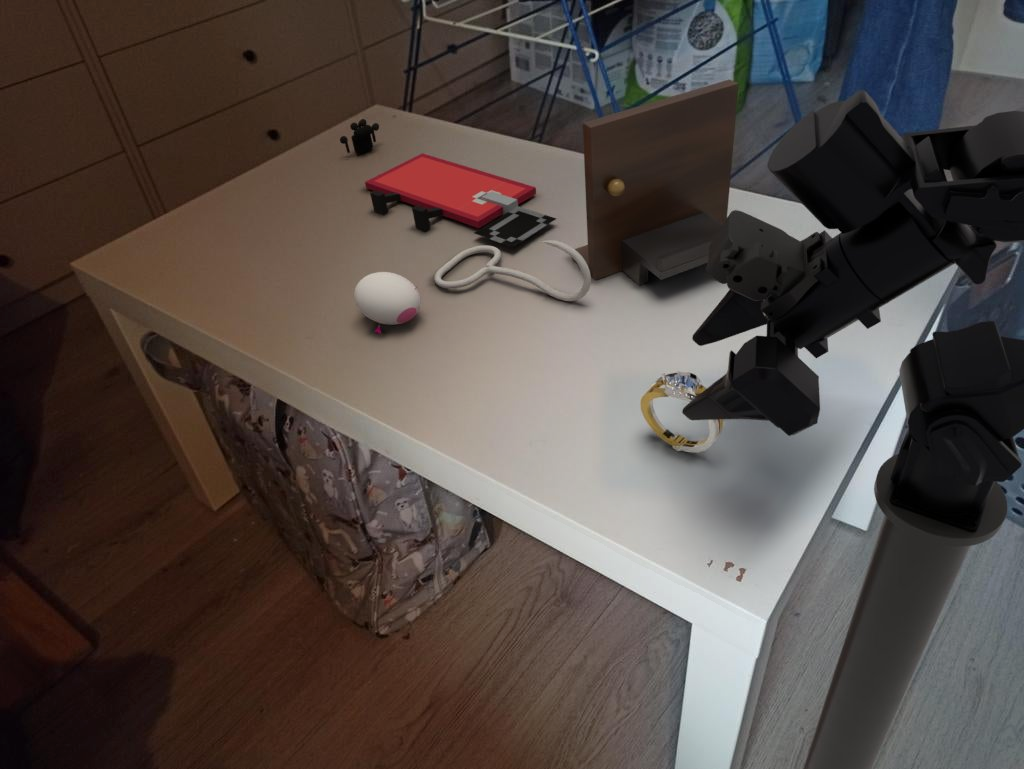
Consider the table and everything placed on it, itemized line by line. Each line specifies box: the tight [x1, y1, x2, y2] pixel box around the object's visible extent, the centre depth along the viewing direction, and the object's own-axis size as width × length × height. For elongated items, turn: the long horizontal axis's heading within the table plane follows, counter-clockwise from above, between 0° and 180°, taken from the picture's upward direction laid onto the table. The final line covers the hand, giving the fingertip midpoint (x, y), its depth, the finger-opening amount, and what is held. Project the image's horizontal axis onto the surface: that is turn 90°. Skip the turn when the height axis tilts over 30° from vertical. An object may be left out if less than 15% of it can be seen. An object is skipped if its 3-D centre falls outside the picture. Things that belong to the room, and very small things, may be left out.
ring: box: [639, 371, 724, 453], centre depth 67 cm, size 7×3×8 cm, turn 49°
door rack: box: [571, 79, 740, 286], centre depth 86 cm, size 13×18×18 cm
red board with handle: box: [364, 152, 557, 248], centre depth 106 cm, size 30×3×15 cm
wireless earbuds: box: [339, 118, 380, 155], centre depth 122 cm, size 7×2×5 cm, turn 131°
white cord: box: [433, 240, 592, 302], centre depth 89 cm, size 7×9×20 cm
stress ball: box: [353, 271, 421, 335], centre depth 87 cm, size 8×8×7 cm
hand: (691, 376), depth 64 cm, fingers open, 9 cm apart
